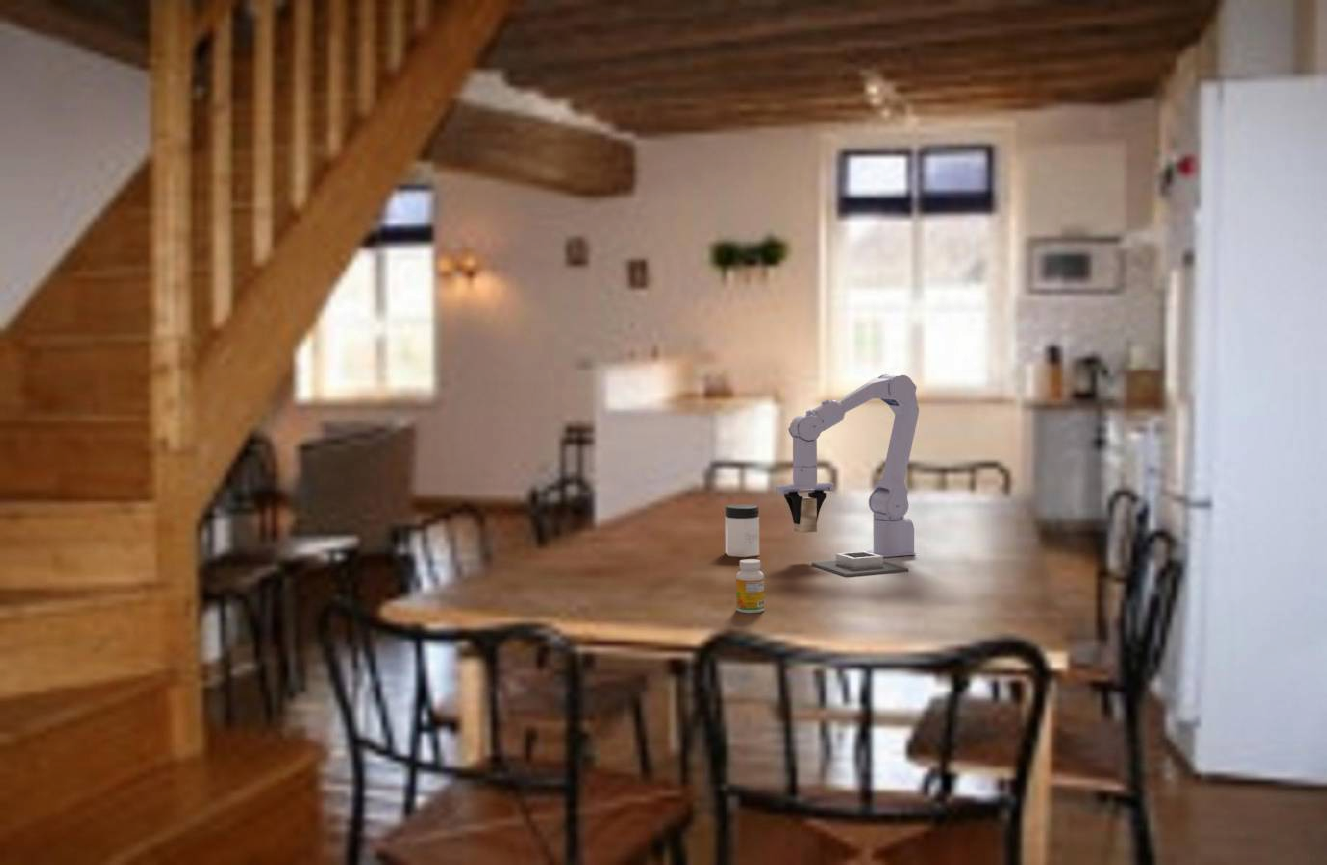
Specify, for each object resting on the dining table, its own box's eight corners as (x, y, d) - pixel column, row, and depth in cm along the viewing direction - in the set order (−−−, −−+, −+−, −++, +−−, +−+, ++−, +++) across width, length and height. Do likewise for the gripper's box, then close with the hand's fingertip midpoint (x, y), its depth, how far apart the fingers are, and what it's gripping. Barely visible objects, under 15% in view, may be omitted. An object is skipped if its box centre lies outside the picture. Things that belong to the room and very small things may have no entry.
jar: (738, 558, 283) (737, 509, 283) (718, 553, 290) (717, 506, 289) (766, 554, 288) (766, 506, 287) (746, 550, 295) (746, 503, 294)
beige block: (808, 529, 282) (808, 496, 281) (816, 531, 278) (816, 498, 278) (794, 530, 280) (793, 497, 280) (801, 532, 277) (801, 499, 276)
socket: (865, 561, 273) (865, 550, 273) (882, 566, 266) (882, 556, 266) (835, 564, 270) (835, 553, 270) (853, 569, 263) (853, 558, 263)
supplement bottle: (734, 608, 227) (734, 558, 227) (761, 607, 228) (761, 557, 227) (738, 614, 222) (738, 563, 221) (766, 613, 222) (766, 562, 222)
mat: (871, 560, 278) (870, 557, 278) (908, 571, 263) (908, 568, 263) (811, 565, 273) (811, 562, 272) (846, 576, 258) (846, 574, 258)
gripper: (823, 463, 285) (823, 518, 285) (770, 466, 279) (770, 522, 280) (838, 465, 278) (838, 522, 279) (783, 468, 273) (784, 526, 274)
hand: (805, 522), depth 279 cm, fingers closed on beige block, 4 cm apart
